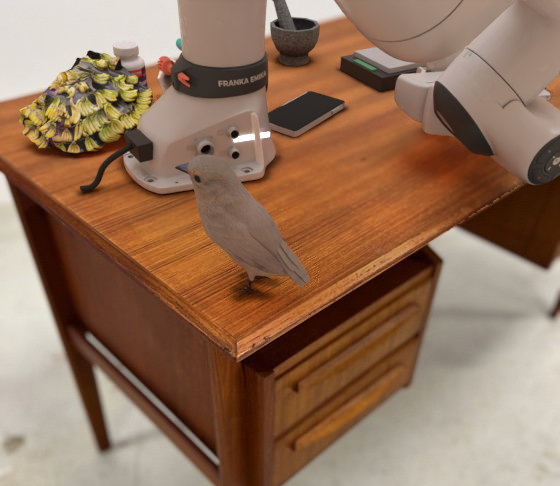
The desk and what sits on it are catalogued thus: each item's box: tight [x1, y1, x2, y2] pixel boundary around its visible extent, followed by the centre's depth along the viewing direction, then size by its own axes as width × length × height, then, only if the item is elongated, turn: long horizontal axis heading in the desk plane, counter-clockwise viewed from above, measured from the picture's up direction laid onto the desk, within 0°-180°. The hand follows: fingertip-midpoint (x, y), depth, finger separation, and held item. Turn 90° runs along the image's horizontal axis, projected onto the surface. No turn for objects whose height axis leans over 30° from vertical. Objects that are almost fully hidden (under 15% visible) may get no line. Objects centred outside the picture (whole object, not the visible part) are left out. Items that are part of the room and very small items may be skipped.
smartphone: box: [268, 90, 346, 138], centre depth 96 cm, size 8×1×15 cm
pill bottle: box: [112, 40, 149, 87], centre depth 95 cm, size 5×5×10 cm
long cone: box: [156, 56, 177, 95], centre depth 106 cm, size 6×6×19 cm
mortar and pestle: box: [269, 0, 321, 67], centre depth 113 cm, size 11×9×12 cm
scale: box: [339, 46, 427, 93], centre depth 111 cm, size 15×13×4 cm
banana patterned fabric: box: [18, 49, 154, 154], centre depth 86 cm, size 20×16×7 cm
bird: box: [175, 154, 311, 298], centre depth 57 cm, size 5×14×15 cm, turn 72°
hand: (443, 70), depth 86 cm, fingers closed on cup, 6 cm apart
